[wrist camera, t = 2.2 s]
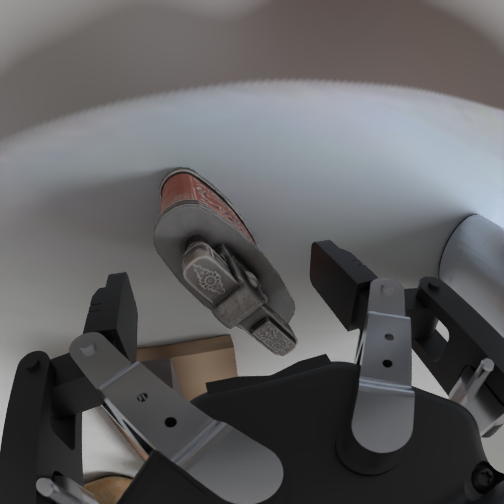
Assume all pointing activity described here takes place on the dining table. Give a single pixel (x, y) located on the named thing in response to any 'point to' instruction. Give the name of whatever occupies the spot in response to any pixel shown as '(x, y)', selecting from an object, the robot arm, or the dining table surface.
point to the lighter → (221, 260)
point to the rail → (188, 367)
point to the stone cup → (108, 489)
